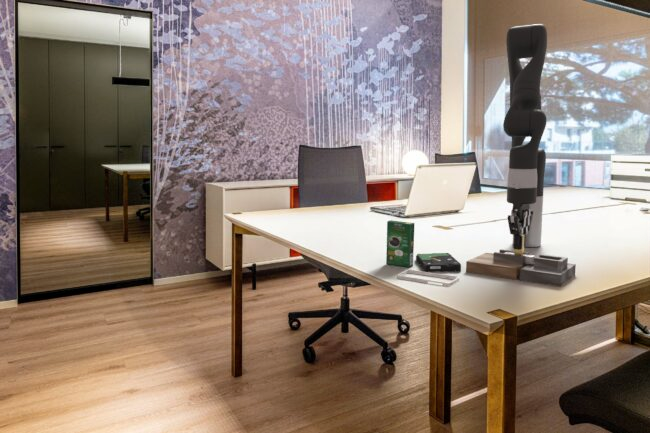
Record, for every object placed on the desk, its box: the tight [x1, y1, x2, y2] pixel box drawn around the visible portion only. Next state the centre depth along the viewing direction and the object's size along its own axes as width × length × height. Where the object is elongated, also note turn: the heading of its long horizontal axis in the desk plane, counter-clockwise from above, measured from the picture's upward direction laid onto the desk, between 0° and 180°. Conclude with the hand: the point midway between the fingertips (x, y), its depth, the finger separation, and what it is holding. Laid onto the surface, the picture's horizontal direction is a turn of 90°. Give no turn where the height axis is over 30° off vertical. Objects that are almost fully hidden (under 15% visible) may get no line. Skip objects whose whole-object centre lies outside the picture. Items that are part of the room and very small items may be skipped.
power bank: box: [396, 269, 460, 287], centre depth 141 cm, size 7×1×15 cm
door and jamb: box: [465, 248, 577, 288], centre depth 145 cm, size 14×25×6 cm, turn 51°
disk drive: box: [415, 252, 462, 273], centre depth 155 cm, size 10×3×15 cm
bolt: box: [505, 234, 536, 264], centre depth 144 cm, size 2×8×8 cm, turn 51°
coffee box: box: [385, 219, 415, 268], centre depth 156 cm, size 8×3×13 cm, turn 54°
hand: (519, 248), depth 144 cm, fingers closed on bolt, 2 cm apart
